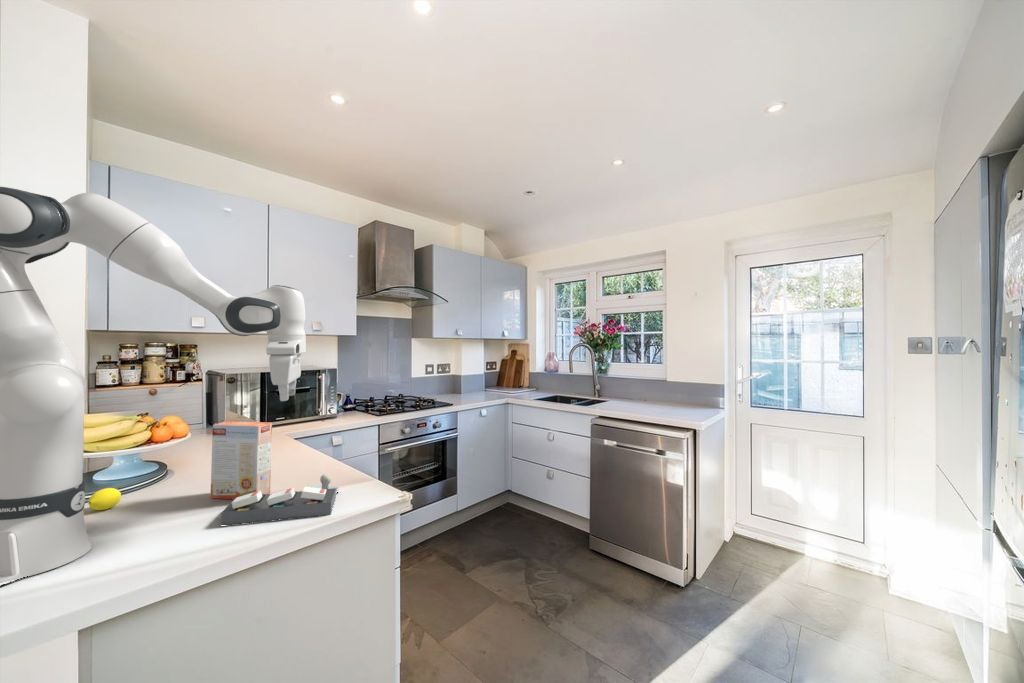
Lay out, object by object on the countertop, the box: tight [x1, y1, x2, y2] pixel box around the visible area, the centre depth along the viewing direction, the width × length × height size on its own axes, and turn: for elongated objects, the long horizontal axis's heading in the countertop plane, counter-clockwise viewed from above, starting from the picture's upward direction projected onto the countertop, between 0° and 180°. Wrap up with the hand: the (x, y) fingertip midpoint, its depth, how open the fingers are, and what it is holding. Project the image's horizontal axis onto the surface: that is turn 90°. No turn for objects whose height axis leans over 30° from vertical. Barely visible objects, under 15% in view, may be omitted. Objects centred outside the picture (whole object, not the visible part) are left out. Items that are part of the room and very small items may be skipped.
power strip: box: [220, 488, 337, 526], centre depth 100 cm, size 24×10×4 cm, turn 108°
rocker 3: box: [301, 486, 327, 500], centre depth 100 cm, size 5×3×2 cm, turn 108°
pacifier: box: [312, 473, 340, 494], centre depth 112 cm, size 7×6×6 cm
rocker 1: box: [231, 490, 262, 509], centre depth 95 cm, size 5×3×2 cm, turn 108°
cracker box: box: [210, 420, 273, 500], centre depth 110 cm, size 14×6×21 cm, turn 84°
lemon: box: [87, 487, 122, 511], centre depth 99 cm, size 7×5×5 cm
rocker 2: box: [267, 487, 295, 506], centre depth 98 cm, size 5×3×2 cm, turn 108°
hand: (287, 398), depth 103 cm, fingers open, 8 cm apart
